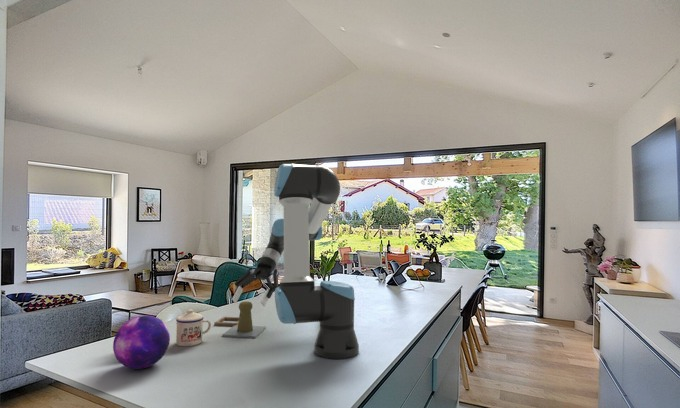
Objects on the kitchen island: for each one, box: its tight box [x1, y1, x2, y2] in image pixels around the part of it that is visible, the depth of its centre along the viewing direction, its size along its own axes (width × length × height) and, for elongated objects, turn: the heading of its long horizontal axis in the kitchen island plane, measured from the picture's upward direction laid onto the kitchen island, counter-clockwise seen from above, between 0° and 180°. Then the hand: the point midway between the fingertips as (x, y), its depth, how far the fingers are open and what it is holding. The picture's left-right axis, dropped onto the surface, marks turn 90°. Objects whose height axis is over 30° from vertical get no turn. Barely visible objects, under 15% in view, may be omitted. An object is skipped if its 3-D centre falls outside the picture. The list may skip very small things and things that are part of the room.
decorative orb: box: [112, 314, 171, 370], centre depth 114 cm, size 15×15×15 cm
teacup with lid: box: [175, 308, 212, 347], centre depth 137 cm, size 12×9×12 cm
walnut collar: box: [213, 316, 239, 327], centre depth 163 cm, size 10×10×1 cm
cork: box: [237, 301, 254, 332], centre depth 150 cm, size 6×6×11 cm
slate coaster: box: [221, 325, 267, 339], centre depth 149 cm, size 13×13×1 cm
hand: (248, 302), depth 152 cm, fingers open, 13 cm apart
